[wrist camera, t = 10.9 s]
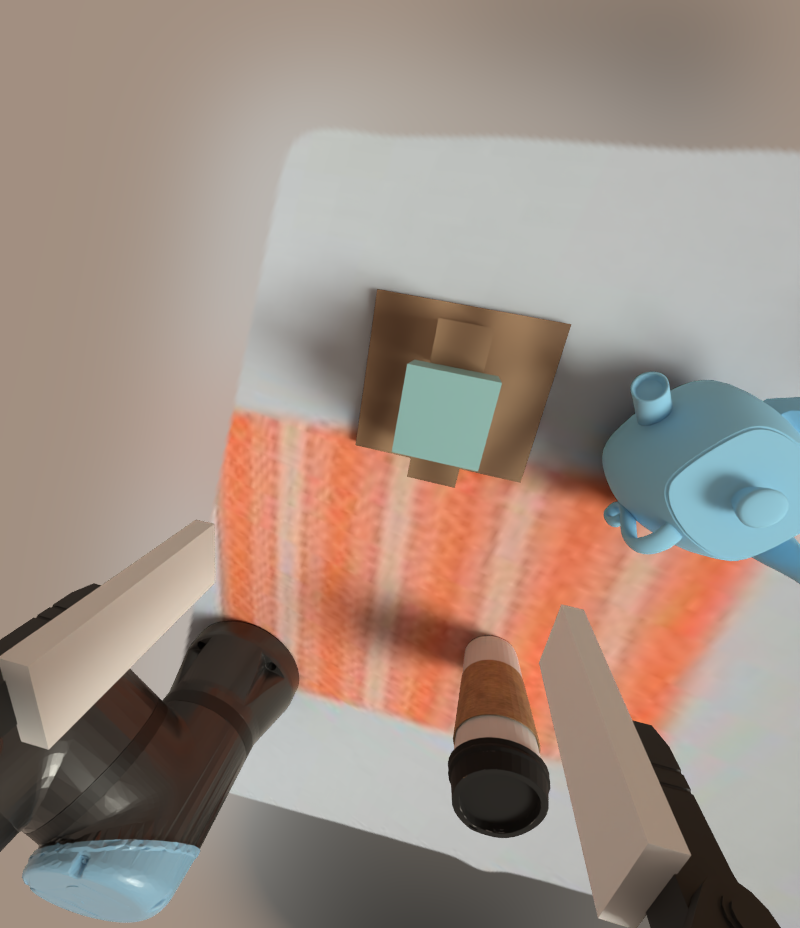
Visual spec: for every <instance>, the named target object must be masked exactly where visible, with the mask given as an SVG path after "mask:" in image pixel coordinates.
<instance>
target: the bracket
mask: <svg viewBox="0 0 800 928" xmlns="http://www.w3.org/2000/svg"><path fill="white" fill-rule="evenodd" d="M570 327H571V324H566V323H561V322H555V321H550V320H544V319H539V318H533V317H528V316H522V315H517V314H511V313H506V312H500V311H495V310H489V309H484V308H478V307H473V306H467V305H462V304H456V303H451V302H445V301H440V300H434V299H429V298H423V297H418V296H412V295H407V294H401V293H396V292H390V291H385V290H380V289H377V295H376V302H375V309H374V316H373V323H372V331H371V338H370V345H369V352H368V359H367V367H366V374H365V381H364V388H363V395H362V403H361V410H360V417H359V424H358V432H357V439H356V445H357V446H362V447H366V448H371V449H375V450H379V451H384V452H388V453H392V454H397V455H401V456H406V457H410V458H411V460H410V465H409V470H408V475H407V477H411V478H415V479H420V480H424V481H428V482H432V483H437V484H441V485H445V486H450V487H454V488H455V484H456V480H457V476H458V472H459V469H463V470H467V471H472V472H476V473H480V474H485V475H489V476H494V477H498V478H502V479H507V480H511V481H515V482H521V479H522V476H523V473H524V470H525V467H526V464H527V461H528V457H529V454H530V451H531V448H532V445H533V442H534V439H535V436H536V433H537V429H538V426H539V423H540V420H541V417H542V414H543V411H544V408H545V405H546V401H547V398H548V395H549V392H550V389H551V386H552V383H553V380H554V377H555V373H556V370H557V367H558V364H559V361H560V358H561V355H562V352H563V349H564V345H565V342H566V339H567V336H568V333H569V330H570ZM413 360H419V361H424V362H429V363H434V364H439V365H444V366H449V367H454V368H459V369H464V370H469V371H474V372H479V373H484V374H489V375H494V376H498V377H499V378H500V380H501V382H502V385H501V389H500V393H499V396H498V400H497V404H496V407H495V411H494V415H493V418H492V422H491V426H490V429H489V433H488V437H487V440H486V444H485V448H484V451H483V455H482V459H481V462H480V466H479V470H478V472H477V471H473V470H469V469H464V468H460V467H455V466H451V465H447V464H442V463H438V462H433V461H429V460H425V459H420V458H416V457H411V456H407V455H403V454H398V453H394V452H392V447H393V442H394V436H395V430H396V425H397V419H398V414H399V408H400V402H401V397H402V391H403V385H404V380H405V374H406V368H407V364H408V363H410V362H411V361H413Z"/></svg>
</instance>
